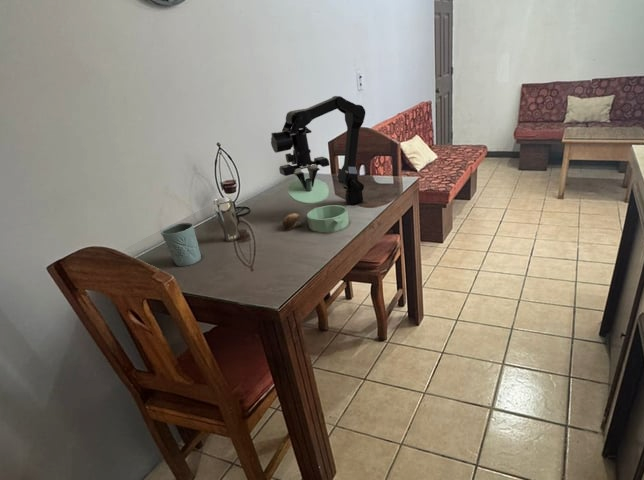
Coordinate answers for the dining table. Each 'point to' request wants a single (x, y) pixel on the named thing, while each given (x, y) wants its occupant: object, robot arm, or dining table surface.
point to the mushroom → (291, 221)
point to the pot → (328, 218)
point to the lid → (308, 191)
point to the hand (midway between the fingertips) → (308, 187)
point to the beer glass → (227, 218)
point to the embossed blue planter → (182, 243)
